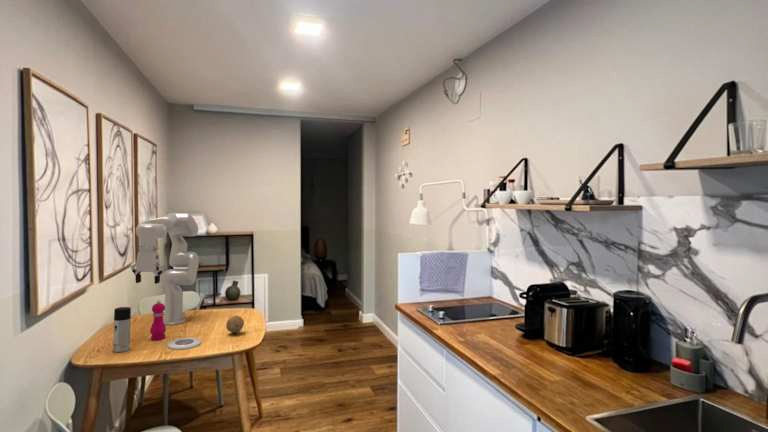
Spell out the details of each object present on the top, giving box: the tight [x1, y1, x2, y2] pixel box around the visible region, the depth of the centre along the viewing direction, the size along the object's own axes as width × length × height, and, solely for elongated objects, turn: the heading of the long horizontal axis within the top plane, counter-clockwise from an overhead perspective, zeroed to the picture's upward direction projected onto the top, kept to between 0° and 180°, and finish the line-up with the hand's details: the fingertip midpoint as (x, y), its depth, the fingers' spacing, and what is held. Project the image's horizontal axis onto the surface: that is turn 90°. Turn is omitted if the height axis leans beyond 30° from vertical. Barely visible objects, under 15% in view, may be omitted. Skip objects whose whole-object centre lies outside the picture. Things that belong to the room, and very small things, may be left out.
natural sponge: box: [225, 315, 245, 334], centre depth 221 cm, size 9×9×10 cm
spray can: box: [112, 306, 132, 353], centre depth 192 cm, size 7×7×20 cm
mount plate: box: [167, 337, 202, 351], centre depth 202 cm, size 15×15×1 cm
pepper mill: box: [149, 300, 167, 341], centre depth 210 cm, size 7×7×20 cm
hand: (147, 282), depth 205 cm, fingers open, 9 cm apart
